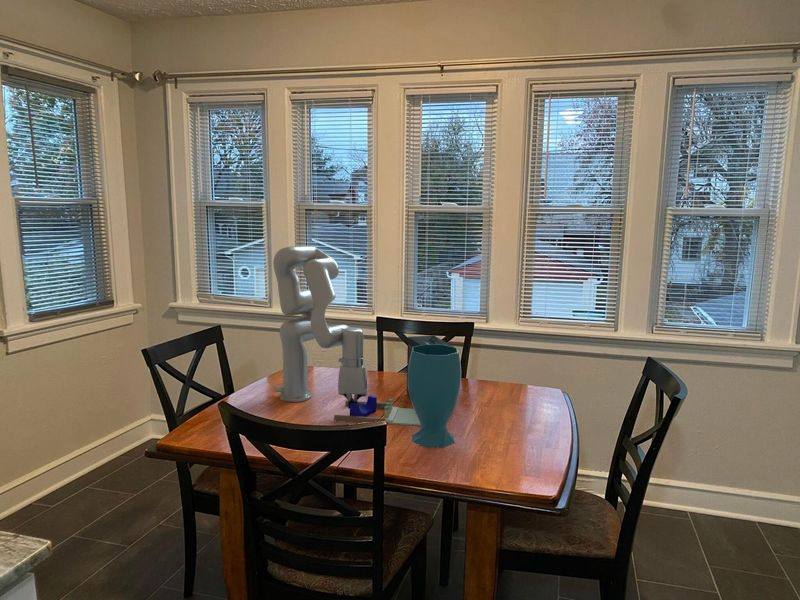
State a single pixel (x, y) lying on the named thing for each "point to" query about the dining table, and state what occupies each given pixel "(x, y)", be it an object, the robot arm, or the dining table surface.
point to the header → (390, 415)
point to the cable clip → (364, 407)
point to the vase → (434, 391)
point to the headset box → (421, 341)
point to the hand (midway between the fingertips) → (353, 410)
